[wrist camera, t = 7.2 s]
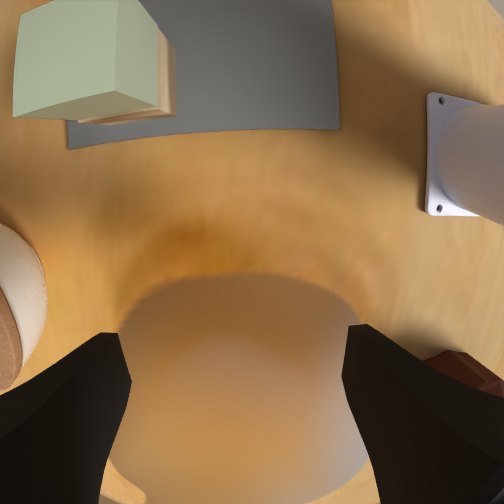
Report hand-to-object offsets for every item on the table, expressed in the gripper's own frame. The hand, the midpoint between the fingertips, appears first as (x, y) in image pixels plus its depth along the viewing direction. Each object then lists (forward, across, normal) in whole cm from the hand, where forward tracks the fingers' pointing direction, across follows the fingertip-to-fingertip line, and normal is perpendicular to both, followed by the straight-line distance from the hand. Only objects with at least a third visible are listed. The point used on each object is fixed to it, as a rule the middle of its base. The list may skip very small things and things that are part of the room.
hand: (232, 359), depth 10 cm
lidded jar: (+11, +17, +1) cm, 20 cm away
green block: (+6, +5, -10) cm, 13 cm away
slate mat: (+10, +2, -13) cm, 17 cm away
